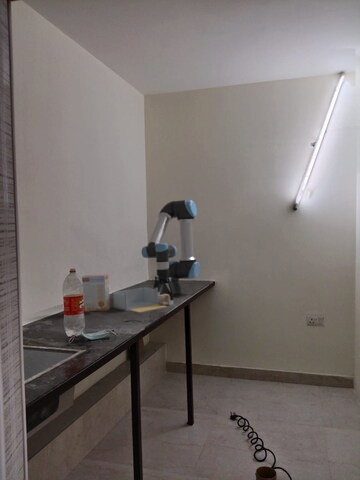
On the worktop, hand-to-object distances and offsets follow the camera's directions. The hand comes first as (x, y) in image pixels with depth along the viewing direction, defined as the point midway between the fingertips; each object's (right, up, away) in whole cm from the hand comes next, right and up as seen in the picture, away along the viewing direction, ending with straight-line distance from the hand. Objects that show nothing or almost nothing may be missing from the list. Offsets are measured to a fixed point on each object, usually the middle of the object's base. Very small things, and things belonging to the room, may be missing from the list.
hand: (164, 304), depth 235 cm
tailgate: (-12, 0, -11) cm, 16 cm away
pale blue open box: (-17, -1, -5) cm, 17 cm away
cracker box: (-38, -3, -10) cm, 40 cm away
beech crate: (0, 0, 0) cm, 0 cm away
